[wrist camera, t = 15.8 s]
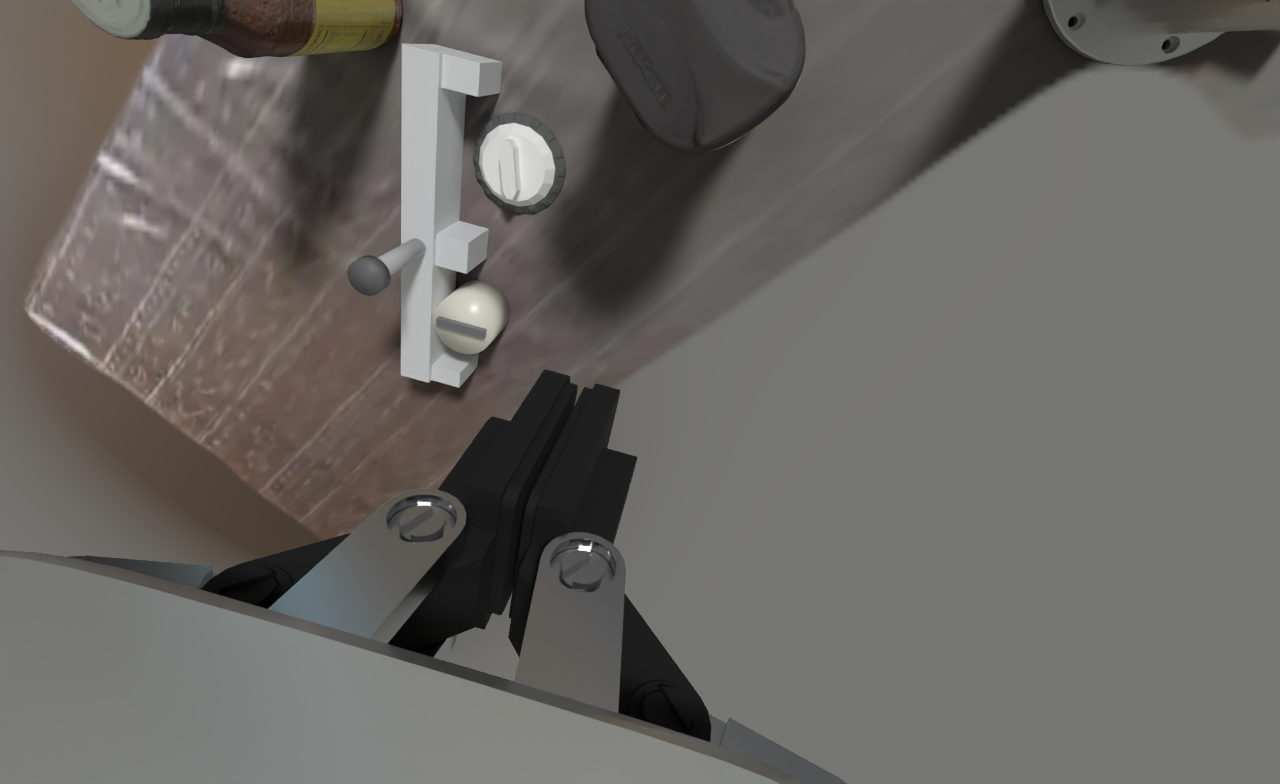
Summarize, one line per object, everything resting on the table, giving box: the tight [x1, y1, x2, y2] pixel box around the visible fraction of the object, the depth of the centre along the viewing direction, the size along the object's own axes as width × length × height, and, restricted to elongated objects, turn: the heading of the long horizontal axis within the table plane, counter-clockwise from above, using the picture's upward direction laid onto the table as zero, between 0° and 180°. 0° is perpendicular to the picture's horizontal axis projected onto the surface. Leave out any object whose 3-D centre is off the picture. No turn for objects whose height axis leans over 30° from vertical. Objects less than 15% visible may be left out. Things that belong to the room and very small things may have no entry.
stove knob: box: [473, 113, 566, 213], centre depth 44 cm, size 7×7×3 cm
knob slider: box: [433, 280, 510, 354], centre depth 49 cm, size 5×5×4 cm
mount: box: [348, 44, 503, 388], centre depth 43 cm, size 5×25×12 cm, turn 167°
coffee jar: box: [585, 0, 805, 154], centre depth 31 cm, size 10×8×19 cm
